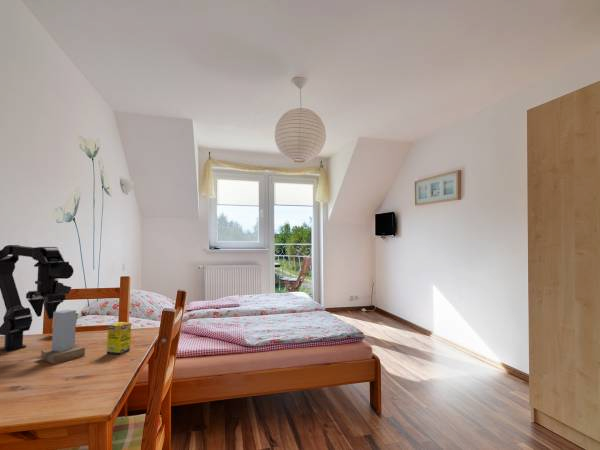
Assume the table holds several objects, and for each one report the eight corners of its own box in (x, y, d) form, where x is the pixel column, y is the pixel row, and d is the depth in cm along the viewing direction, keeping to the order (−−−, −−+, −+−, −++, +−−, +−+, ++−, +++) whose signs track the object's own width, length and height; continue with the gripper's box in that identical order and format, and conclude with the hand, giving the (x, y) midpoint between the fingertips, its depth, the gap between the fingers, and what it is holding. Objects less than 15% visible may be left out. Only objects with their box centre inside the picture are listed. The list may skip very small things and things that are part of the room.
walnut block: (40, 359, 121) (41, 350, 121) (70, 351, 130) (70, 343, 130) (54, 364, 116) (55, 355, 117) (84, 355, 125) (85, 347, 125)
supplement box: (119, 354, 126) (120, 325, 127) (106, 353, 127) (107, 325, 128) (130, 350, 132) (131, 322, 133) (117, 349, 133) (118, 321, 134)
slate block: (51, 350, 122) (53, 312, 123) (65, 346, 127) (66, 309, 127) (61, 351, 120) (63, 312, 121) (74, 347, 125) (76, 310, 126)
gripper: (80, 277, 135) (79, 316, 134) (57, 275, 144) (55, 311, 143) (49, 280, 125) (47, 322, 124) (26, 277, 134) (24, 316, 133)
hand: (44, 317), depth 131 cm, fingers open, 9 cm apart
